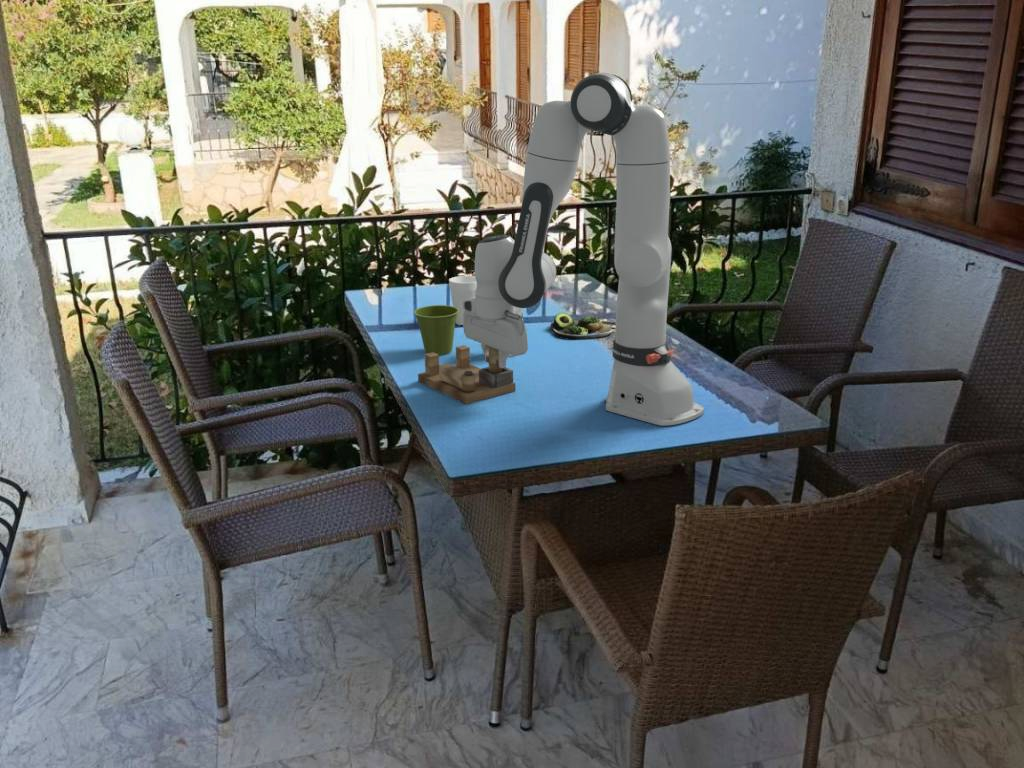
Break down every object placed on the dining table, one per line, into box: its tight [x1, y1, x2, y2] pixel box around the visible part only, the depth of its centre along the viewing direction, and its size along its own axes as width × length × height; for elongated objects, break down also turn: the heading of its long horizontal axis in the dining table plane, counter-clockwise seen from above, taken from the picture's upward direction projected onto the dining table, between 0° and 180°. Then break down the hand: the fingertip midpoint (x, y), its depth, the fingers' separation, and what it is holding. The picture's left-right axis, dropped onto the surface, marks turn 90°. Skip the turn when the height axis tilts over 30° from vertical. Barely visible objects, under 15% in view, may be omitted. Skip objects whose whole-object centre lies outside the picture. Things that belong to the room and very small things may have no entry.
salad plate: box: [550, 312, 616, 340], centre depth 263 cm, size 19×18×5 cm
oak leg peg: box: [488, 346, 502, 374], centre depth 214 cm, size 3×3×9 cm
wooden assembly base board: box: [417, 344, 516, 405], centre depth 218 cm, size 20×14×7 cm
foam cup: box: [448, 275, 477, 326], centre depth 269 cm, size 10×9×13 cm
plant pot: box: [413, 304, 459, 356], centre depth 243 cm, size 12×12×11 cm
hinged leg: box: [439, 362, 475, 392], centre depth 213 cm, size 12×3×4 cm, turn 38°
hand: (495, 364), depth 214 cm, fingers closed on oak leg peg, 3 cm apart
